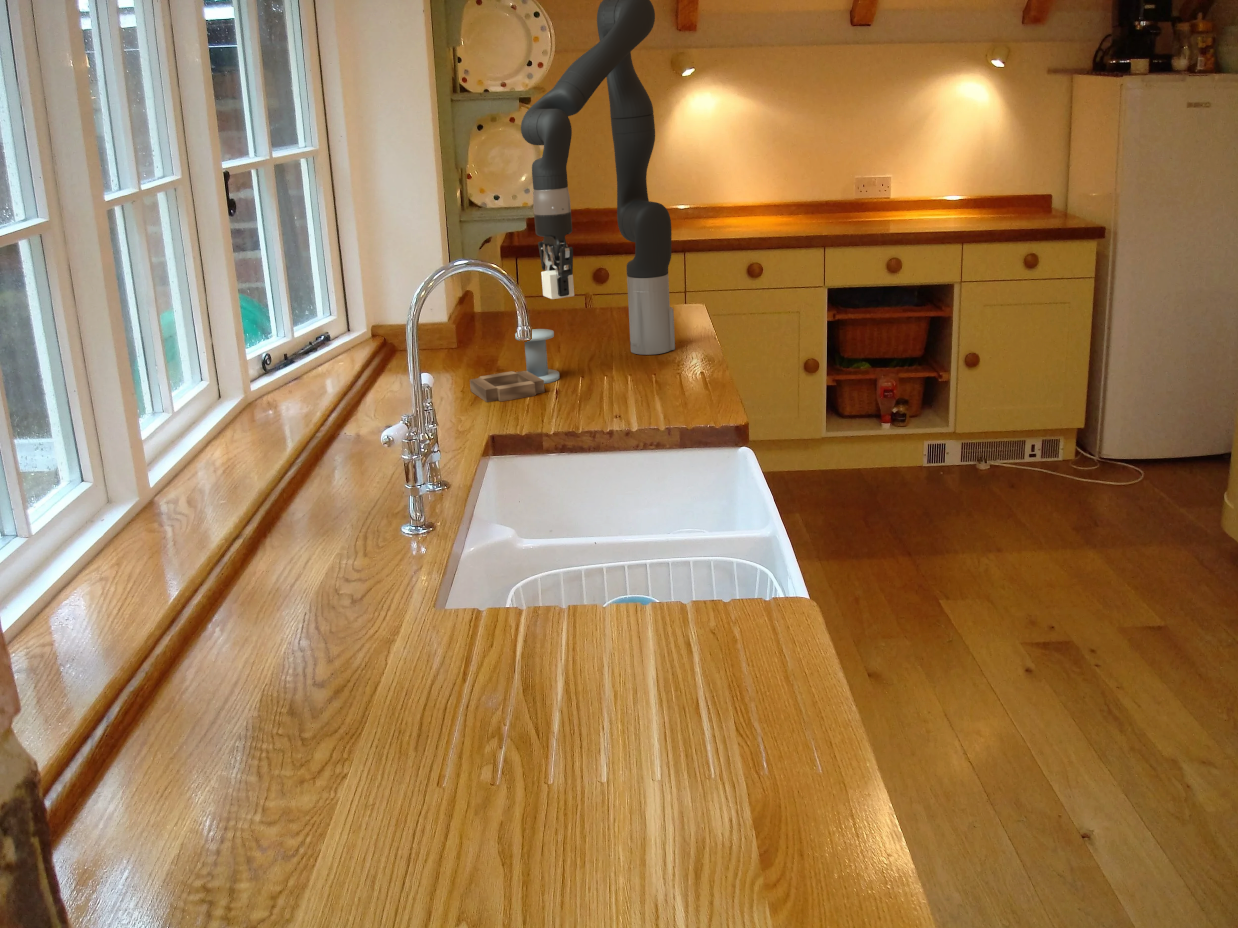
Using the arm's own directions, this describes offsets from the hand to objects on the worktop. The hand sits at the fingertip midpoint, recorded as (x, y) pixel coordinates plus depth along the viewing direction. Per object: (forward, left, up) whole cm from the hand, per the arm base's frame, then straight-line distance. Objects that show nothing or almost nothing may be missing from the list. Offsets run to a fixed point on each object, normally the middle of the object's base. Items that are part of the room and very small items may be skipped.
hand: (558, 293), depth 252 cm
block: (0, 0, 0) cm, 0 cm away
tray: (+15, +7, -17) cm, 24 cm away
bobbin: (+6, +1, -17) cm, 18 cm away
